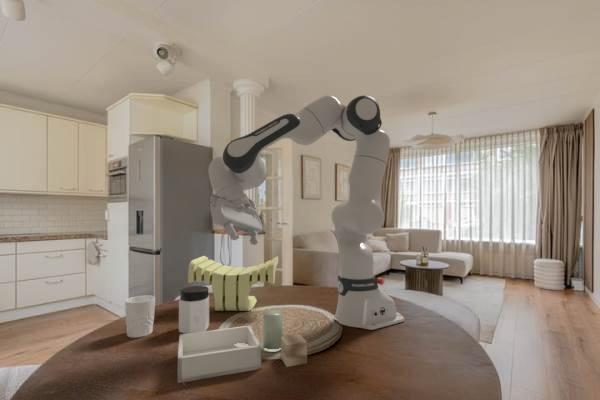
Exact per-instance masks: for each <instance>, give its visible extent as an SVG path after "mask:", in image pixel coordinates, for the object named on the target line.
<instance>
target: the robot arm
mask: <svg viewBox="0 0 600 400" xmlns="http://www.w3.org/2000/svg"><path fill="white" fill-rule="evenodd" d="M382 125H383V124H382V118H381V109H380V105H379V103H378V101H377V100H376V99H375V98H374V97H372V96H370V95H367V94H365V95H364V94H363V95H358V96H357V97H355V98H353V99H352V100H350V101H349V103H347V105H344V104H341V102H340V101H339V100H338V99H337V98H336V97H335V96H333V95H330V94H329V95H328V94H327V95H324V96H321V97H319V98H318V99H315V100H314V101H312V102H310V103H309V104H306V106H305V107H303V108H302V109H300V110H298V111H296V112H295V113H286V114H283V115H281V116H279V117H277V118H275V119H272V120H271V121H269V122H268V123H266V124H264V125H263V126H261V127H259V128H257V129H255V130H254V131H252V132H250V133H248V134H246V135H242V136H241V137H237V138H235V139H233V140H231V141H230V142H229V143H228V144H227V145H226V146H225V148H224V150H223V151H222V155H220V156H216V157H214V158H213V159H212V161H211V162H210V163H209V165H208V177H209V181H210V185H211V188H212V190H213V191H214V194H211V195H210V197H209V201H210V205H209V209H210V214H211V218H212V221H213V222H214V224H215V225H217V226H220V227H224V230H225V231H226V232H227V234H228V235H229V237H230V240H232V241H237V240H238V239H240V235H239V233H238V232H242V233H245V234H248V235H249V237H250V239H249V243H250V245H254V246H255V245H257V244H258V243H259V239H258V234H260V233H262V231H263V224H262V220H261V218H260V215H259V213H258V211H257V210H256V209H257V208H258V207H257V205H256V203H255V202H254V201H253V200H252V199H250V198H249V196H248V195H247V194H246V193H245V191H247V190H251V189H254V188H257V187H259V186H261V185H262V184H263V183H264V182H265V181H266V180H267V176H268V169H267V167H266V166H265V163H264V160H263V159H262V157H261V156H260V155H261V153H262V152H263V151H264V150H266V149H267V148H269V147H270V146H273V145H274V144H276V143H278V142H279V141H281V140H283V139H289V140H290V139H291V140H292V141H293V142H295V143H296V144H298V145H302V146H309V145H312V144H314V143H315V142H317V141H318V140H319V139H321V138H322V137H324V136H325V135H326V134H328V132H330V131H331V130H332V132H333V133H335V134H336V135H337V136H338V137H339V138H341V139H342V140H343V141H347V142H353V141H355V143H356V149H355V153H354V156H353V160H352V164H351V167H350V172H349V176H348V185H349V193H348V194H349V195H348V196H349V197H348V200H345V201H342V202H339V204H337V205H336V206H335V207H333V210H332V212H331V221H332V223H333V226H334V231H335V237H336V238H335V239H336V244H337V248H338V265H339V266H338V272H339V274H338V276H337V292H338V299H337V305H336V309H335V310H336V311H335V315H334V318H336V319H337V320H338V321H339V322H340V323H339V324H340V325H343V326H347V327H352V328H360V329H364V330H369V331H370V330H371V331H372V330H378V329H380V328H385V327H389V326H392V325H396V324H399V323H403V322H405V317H404V316H403V314H401V313H399V312H398V311H397V307H396V302H395V301H394V299H393V298H392V297H390V295H388V294H387V293H386V292H384V291H383V290H382V289H381V288H379V285H380V286H383V285H384V284H385V283H386V281H385V280H384V278H381V277H376V276H375V275H374V252H373V249H372V247H371V246H370V243H369V239H368V235H371V234H374V233H376V232H378V231H380V230H381V229H382V227H383V226H384V223H385V219H386V217H385V212H384V210H383V208H382V203H381V202H382V195H381V194H382V185H383V181H384V177H385V172H386V169H387V164H388V160H389V154H390V145H391V141H390V136H389V135H388V134H387V132H386V131H384V130H381V127H382ZM378 284H379V285H378Z"/></svg>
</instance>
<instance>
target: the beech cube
mask: <svg viewBox="0 0 600 400" xmlns="http://www.w3.org/2000/svg"><path fill="white" fill-rule="evenodd" d="M280 359H281V360H282V362H283V364H284V365H285V367H286V368H288V367H294V366H300V365H301V366H302V365H306V364H308V341H307V340H306V338H304V337H303V336H302V335H301V334H300V333H299V334H291V335H285V336H284V335H283V337H281V351H280Z"/></svg>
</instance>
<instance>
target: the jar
mask: <svg viewBox="0 0 600 400" xmlns="http://www.w3.org/2000/svg"><path fill="white" fill-rule="evenodd" d="M179 291H180V294H179V295H180V297H179V299H178V333H180V334H187V333H195V332H203V331H207V330H208V328H209V326H210V295H209V287H207V286H203V285H195V286H194V285H192V286H187V287H183V288H182V289H180V290H179Z"/></svg>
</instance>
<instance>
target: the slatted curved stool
mask: <svg viewBox="0 0 600 400" xmlns="http://www.w3.org/2000/svg"><path fill="white" fill-rule="evenodd" d="M278 264H279V255H277V256H275V257H273V258H272V259H270V260H268V261H266V262H262V263H260V264H258V265H257V264H256V265H253V266H248V267H244V266H243V267H242V266H241V267H238V266H237V267H234V266H230V265H225V264H224V265H223V264H222V263H220V262H216V261H215V260H213V259H209V257H208V256H205V255H202V256H200V257H197V258H195V259H192V260H190V263H189V264H188V269H187V271H188V272H187V280H188V281H187V283H188V284H191V283H202V282H203V283H204V284H206V285H208V286H211V291H212V294H213V296H214V297H213V298H214V312H215V311H218V312H220V311H221V312H223V311H227V312H232V311H233V312H238V311H240V312H242V311H243V312H251V311H252V310H253V308H254V306H255V305H256V303H257V302H258V300H257V298H256V297H255V295H250V292H251V289H252V286H254V285H255V284H258V282H259V283H266V282H267V283H268V284H272V285H274V283H275V281H276V279H275V278H276V270H277V267H278ZM250 310H251V311H250Z"/></svg>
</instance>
